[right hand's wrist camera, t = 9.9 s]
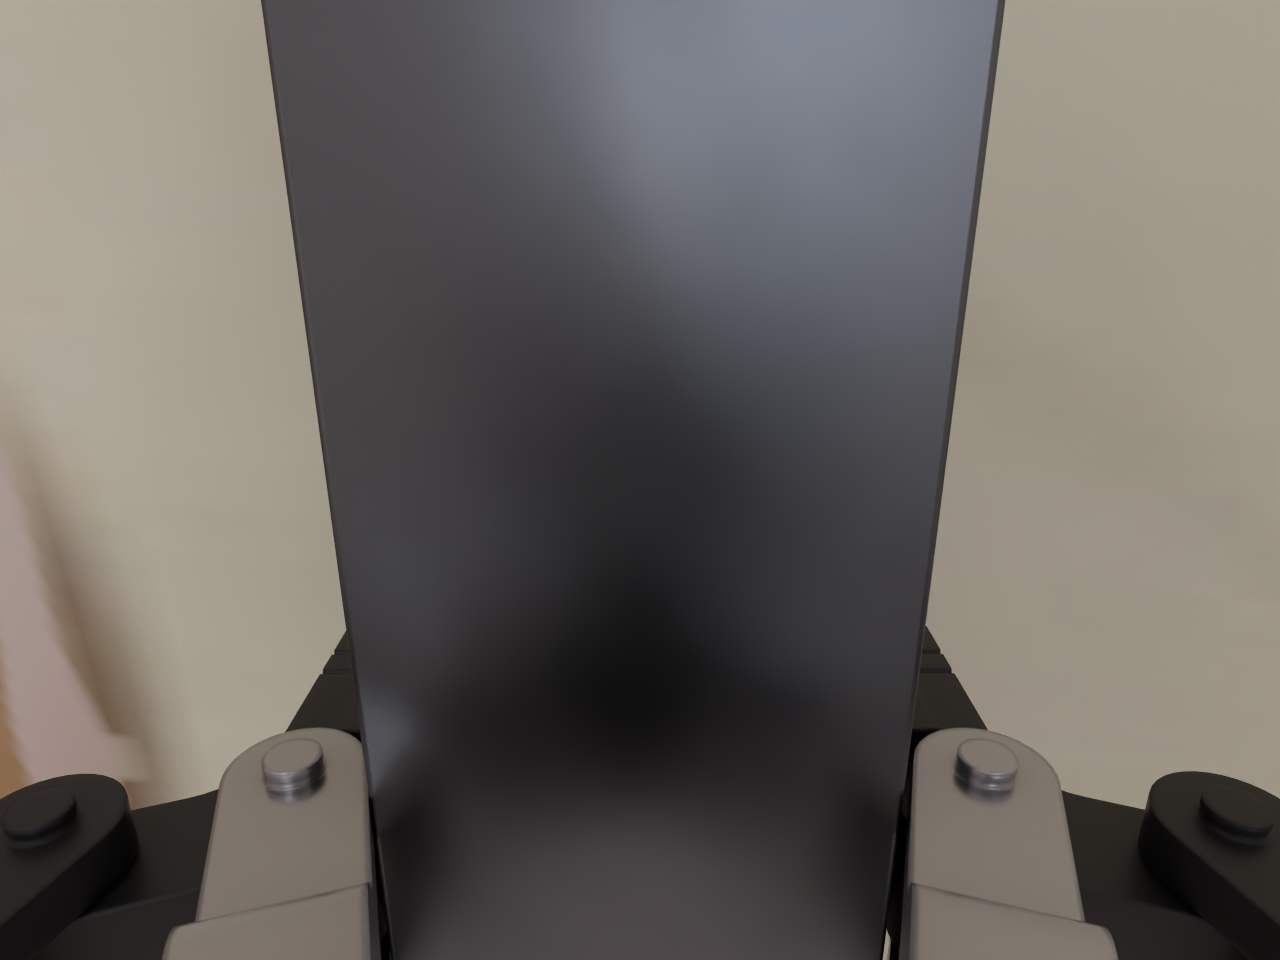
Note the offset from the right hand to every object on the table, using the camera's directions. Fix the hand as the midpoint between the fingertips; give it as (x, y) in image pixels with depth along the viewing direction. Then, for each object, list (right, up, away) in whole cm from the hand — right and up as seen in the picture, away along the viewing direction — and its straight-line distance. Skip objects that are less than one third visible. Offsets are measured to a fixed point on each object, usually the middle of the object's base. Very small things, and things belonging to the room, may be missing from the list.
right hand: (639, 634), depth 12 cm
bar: (0, +10, +1) cm, 10 cm away
